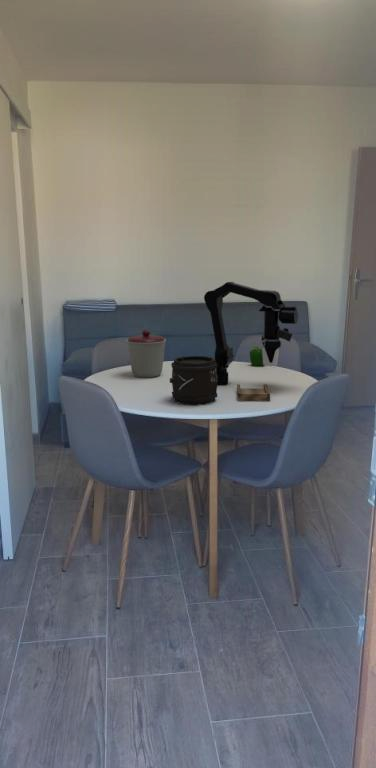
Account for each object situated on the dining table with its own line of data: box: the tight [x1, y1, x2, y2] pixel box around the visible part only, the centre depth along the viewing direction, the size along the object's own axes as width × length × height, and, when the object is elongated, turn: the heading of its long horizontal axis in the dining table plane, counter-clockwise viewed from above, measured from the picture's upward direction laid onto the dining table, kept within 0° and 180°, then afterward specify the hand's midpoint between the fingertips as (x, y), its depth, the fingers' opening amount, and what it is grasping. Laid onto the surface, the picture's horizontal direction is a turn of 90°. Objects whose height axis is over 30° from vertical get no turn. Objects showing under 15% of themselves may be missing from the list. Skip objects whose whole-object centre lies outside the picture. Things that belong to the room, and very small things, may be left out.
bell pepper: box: [249, 345, 265, 367], centre depth 289 cm, size 8×8×10 cm
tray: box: [236, 384, 271, 402], centre depth 230 cm, size 12×16×3 cm
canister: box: [125, 329, 167, 378], centre depth 267 cm, size 18×18×21 cm
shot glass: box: [261, 346, 280, 367], centre depth 240 cm, size 7×7×7 cm
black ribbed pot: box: [169, 355, 218, 406], centre depth 224 cm, size 18×18×16 cm
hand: (270, 361), depth 240 cm, fingers closed on shot glass, 6 cm apart
